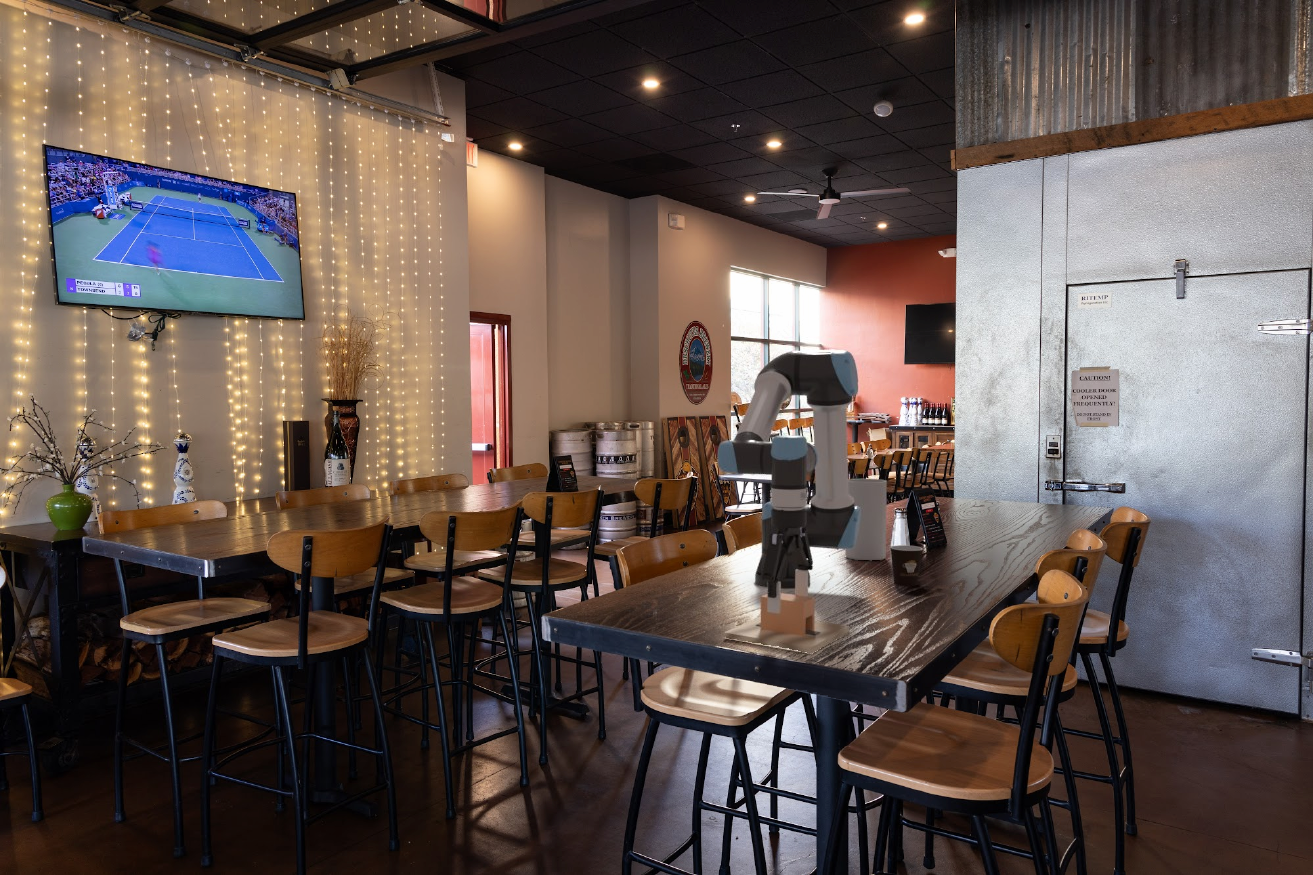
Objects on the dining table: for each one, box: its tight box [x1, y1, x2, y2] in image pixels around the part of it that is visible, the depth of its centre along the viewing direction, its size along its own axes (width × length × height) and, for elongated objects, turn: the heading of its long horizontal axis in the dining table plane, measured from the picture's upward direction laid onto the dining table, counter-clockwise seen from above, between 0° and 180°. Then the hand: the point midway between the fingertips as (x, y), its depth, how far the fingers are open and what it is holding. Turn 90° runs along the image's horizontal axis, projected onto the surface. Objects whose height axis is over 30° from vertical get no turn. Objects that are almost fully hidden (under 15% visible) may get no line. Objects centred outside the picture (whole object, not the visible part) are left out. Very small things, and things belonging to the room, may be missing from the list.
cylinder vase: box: [844, 478, 888, 562], centre depth 282 cm, size 12×12×25 cm
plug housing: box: [760, 592, 816, 636], centre depth 189 cm, size 10×6×7 cm, turn 56°
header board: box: [723, 615, 850, 655], centre depth 189 cm, size 20×20×4 cm
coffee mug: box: [889, 544, 936, 587], centre depth 243 cm, size 12×9×10 cm
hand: (788, 605), depth 190 cm, fingers open, 13 cm apart
